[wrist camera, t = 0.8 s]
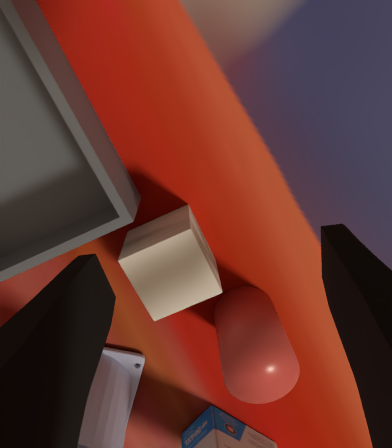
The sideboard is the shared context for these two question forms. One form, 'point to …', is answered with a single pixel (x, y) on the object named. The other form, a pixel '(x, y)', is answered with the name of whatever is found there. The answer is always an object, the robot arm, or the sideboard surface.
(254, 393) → the capsule
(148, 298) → the cube
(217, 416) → the ink box
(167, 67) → the sideboard surface
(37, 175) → the tote
